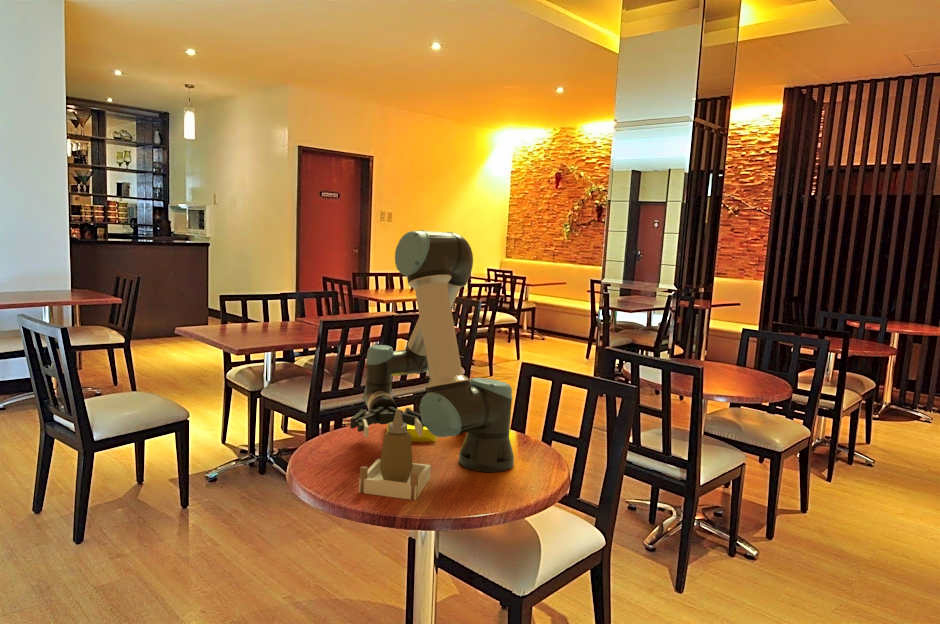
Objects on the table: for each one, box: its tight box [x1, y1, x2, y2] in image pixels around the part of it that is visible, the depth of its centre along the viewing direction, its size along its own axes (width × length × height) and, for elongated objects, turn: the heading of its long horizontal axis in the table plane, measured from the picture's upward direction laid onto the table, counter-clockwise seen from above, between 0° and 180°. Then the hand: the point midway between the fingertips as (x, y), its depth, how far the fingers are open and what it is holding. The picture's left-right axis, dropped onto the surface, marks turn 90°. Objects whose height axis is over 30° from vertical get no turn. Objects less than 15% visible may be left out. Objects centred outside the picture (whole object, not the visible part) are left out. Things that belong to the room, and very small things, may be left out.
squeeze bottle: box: [380, 408, 413, 483], centre depth 158 cm, size 8×8×18 cm
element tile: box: [386, 422, 438, 443], centre depth 199 cm, size 15×15×5 cm
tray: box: [358, 458, 432, 501], centre depth 158 cm, size 14×14×6 cm
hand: (394, 431), depth 161 cm, fingers open, 13 cm apart
